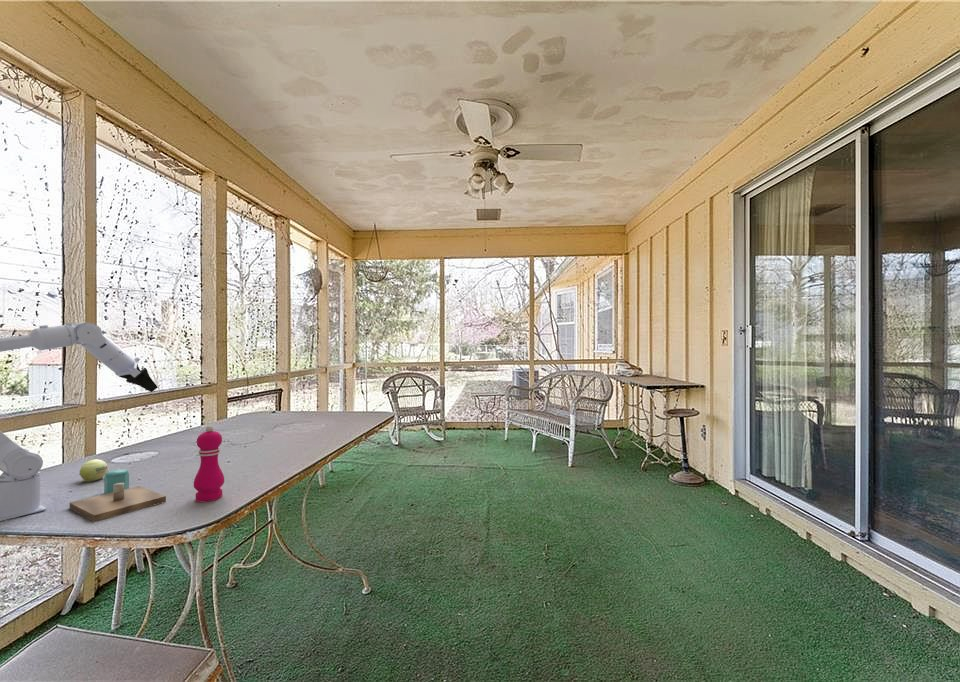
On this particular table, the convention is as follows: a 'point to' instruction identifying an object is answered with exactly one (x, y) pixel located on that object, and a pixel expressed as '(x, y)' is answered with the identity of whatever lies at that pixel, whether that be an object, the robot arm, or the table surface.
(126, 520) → the table surface
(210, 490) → the pepper mill
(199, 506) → the table surface
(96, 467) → the lemon
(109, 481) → the cap
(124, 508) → the peg board
